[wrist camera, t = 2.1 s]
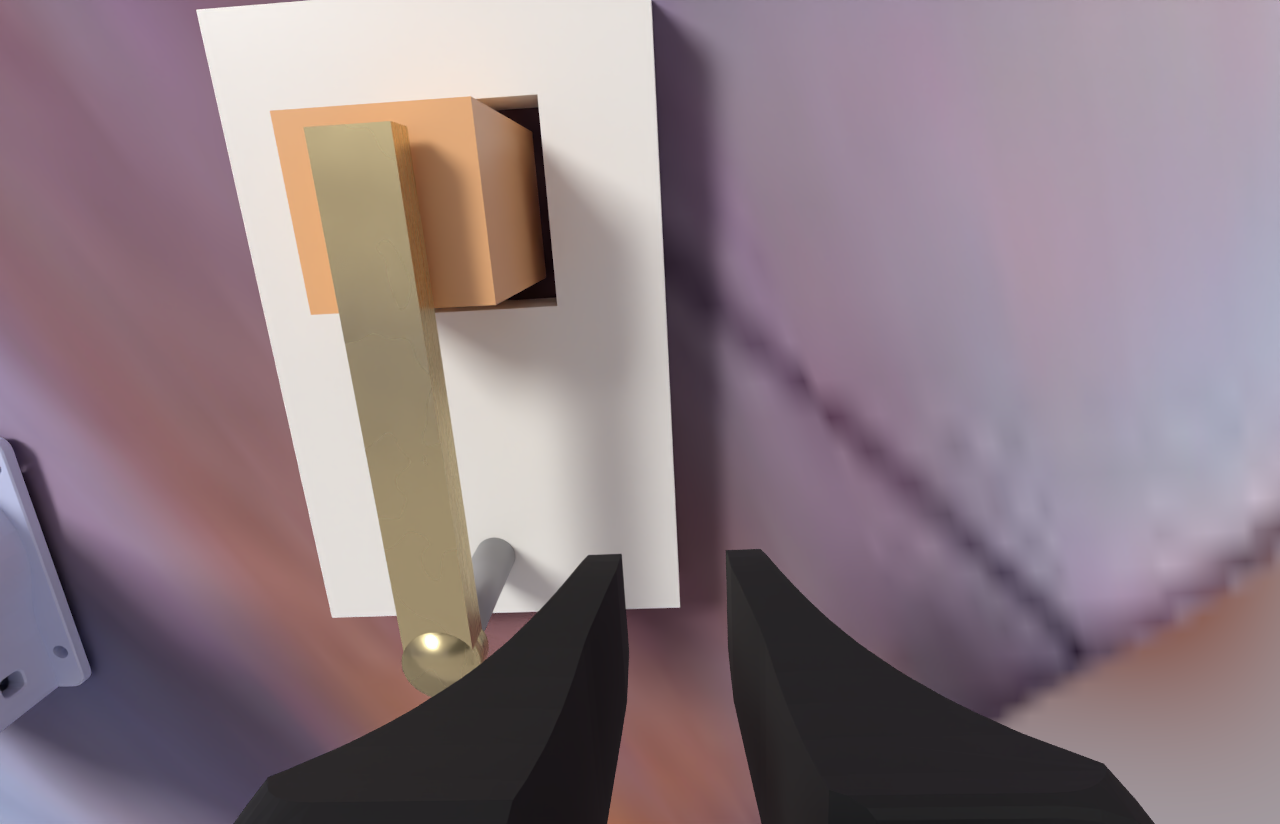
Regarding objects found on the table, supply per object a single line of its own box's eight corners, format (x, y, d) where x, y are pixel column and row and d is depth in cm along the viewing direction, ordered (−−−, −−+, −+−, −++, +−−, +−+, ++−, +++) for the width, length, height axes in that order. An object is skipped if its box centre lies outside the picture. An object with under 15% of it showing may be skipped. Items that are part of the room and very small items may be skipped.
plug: (546, 277, 20) (495, 304, 14) (414, 284, 20) (311, 314, 14) (532, 131, 18) (470, 95, 13) (392, 141, 19) (269, 110, 13)
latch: (492, 675, 16) (484, 697, 15) (420, 676, 16) (408, 699, 15) (412, 126, 13) (396, 120, 12) (320, 132, 13) (297, 127, 12)
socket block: (678, 573, 22) (683, 705, 16) (360, 583, 23) (252, 714, 17) (651, -2, 17) (644, -112, 11) (246, 31, 18) (38, -58, 12)
